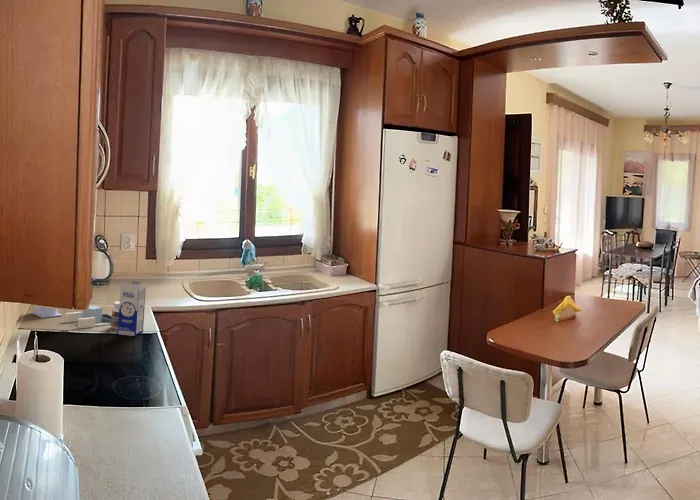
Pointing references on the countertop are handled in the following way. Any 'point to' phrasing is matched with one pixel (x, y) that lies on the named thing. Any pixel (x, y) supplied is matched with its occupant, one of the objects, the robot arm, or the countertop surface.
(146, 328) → the countertop surface
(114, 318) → the pill bottle
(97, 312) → the block
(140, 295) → the milk carton
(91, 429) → the countertop surface
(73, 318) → the channel
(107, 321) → the pit tray
